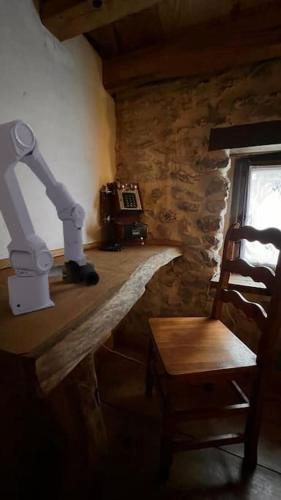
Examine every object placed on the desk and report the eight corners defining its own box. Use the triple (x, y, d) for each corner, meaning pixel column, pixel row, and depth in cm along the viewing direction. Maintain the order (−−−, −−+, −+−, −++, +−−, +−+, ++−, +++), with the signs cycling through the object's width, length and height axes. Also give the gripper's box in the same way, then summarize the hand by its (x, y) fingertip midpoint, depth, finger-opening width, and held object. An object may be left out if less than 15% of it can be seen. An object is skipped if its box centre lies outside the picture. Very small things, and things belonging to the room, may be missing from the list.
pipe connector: (63, 273, 73) (61, 264, 87) (64, 289, 74) (61, 277, 88) (99, 270, 77) (91, 261, 91) (99, 285, 78) (92, 274, 92)
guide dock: (43, 280, 84) (42, 269, 83) (40, 277, 87) (39, 267, 86) (94, 271, 95) (94, 261, 95) (90, 269, 99) (90, 260, 98)
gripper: (94, 243, 69) (96, 286, 72) (77, 238, 81) (79, 276, 83) (71, 245, 65) (74, 290, 67) (56, 240, 77) (59, 279, 79)
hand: (75, 283), depth 75 cm, fingers closed
